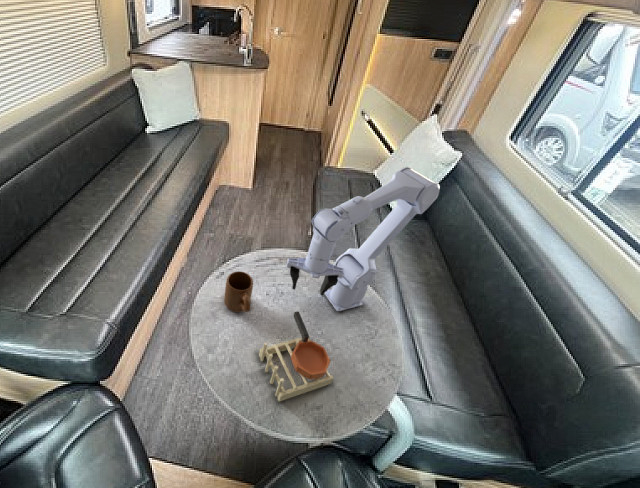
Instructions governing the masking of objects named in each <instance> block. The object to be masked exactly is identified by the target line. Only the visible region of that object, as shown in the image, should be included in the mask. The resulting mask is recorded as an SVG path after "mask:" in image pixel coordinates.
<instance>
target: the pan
mask: <svg viewBox="0 0 640 488" xmlns="http://www.w3.org/2000/svg"><path fill="white" fill-rule="evenodd" d="M300 313H301V312H300V311H293V317H292V318H293V319H294V321H295V324H296V326H297V329H298V331H299V333H300V336H301V337H302V339H301V340H302V342H299V343H298V344H297V345H296V347H295V348H293V350H292V356H290V360H291V362H292V366H293V368H294V371H296V373H298V374H299V375H300V374H301V375H302V376H304V377H305V378H306V380H316V379H317V378H319V379H321V378H324V377H325V376H326V374H325V373H326V371H328V369H329V366H330V363H331V358H330V356H329V354H328V352H327V350H326V348H325V347H324V346H322V345H321V344H319V343H318V342H315V341H314V340H310V339H309V337H310V335H309V332H308V330H307V327H306V325H305V323H304V320H303V318H302V316H301V314H300ZM308 339H309V341H308ZM301 375H300V376H301Z"/></svg>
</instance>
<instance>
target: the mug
mask: <svg viewBox="0 0 640 488" xmlns="http://www.w3.org/2000/svg"><path fill="white" fill-rule="evenodd" d="M253 287H254V279H253V277H252V276H251V275H250V274H249V273H247V272H244V271H232V272H231V273H230V274H228V276H227V278H226V282H225V289H224V297H223V298H224V299H223V300H224V306H225V307H226V308H227V309H228V310H229V311H231V312H233V313H242V312H244V313H249V312H250V311H251V307H252V305H251V299H252V293H253Z"/></svg>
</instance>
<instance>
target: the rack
mask: <svg viewBox="0 0 640 488" xmlns="http://www.w3.org/2000/svg"><path fill="white" fill-rule="evenodd" d="M301 339H302V336H301V337H297V338H294V339H291V340H290V339H289V340H287V341H283V342H279V343H275V344H272V345H269V346H268V343H267V342H264V344H263V345H262V347H261V348H260V349H259V353H258V356H259V359H260V362H264V359H265V358H266V360H267V361H266V364H265V368H264V372H265V373H268V372H269V370H270V369H271V371H272V374H271V377H270V380H269V384H270V385H274V382H275V380H276V382H277V384H278V385H277V388H276V391H275V394H274V395H275V397H277V402H279V403H281V402H282V401H285V400H288V399H291V398H294V397H297V396H299V395H300V396H301V395H304V394H305V393H308V392H311V391H314V390H317V389H320V388H323V387H326V386H329V385H331V384H332V382H333V380H334V377H333V374H331V375H330V373H329V371H328V370H327V371H326V373H325V376H324V377H322V378H317V379H314V380H313V381H310V382H308V379H307V378H306V377H304V376H302V375H301V374H299V376H300V377H301V379H302V381H303V384H301V385H298V386H297V384H296V383H295V380H294V378H293V376H292V373H291V372H290V369H289V367H288V366H287V364H286V361H285V359H284V357H283V355H282V352H285V351H288V353H289V356H290V357H291V356H292V353H293V350H292V349H295V347H296V345H297V344H298V343H299V342H302V340H301ZM310 339H311V337H310V336H309V339H308V341H309V340H310ZM274 354H277V356H278V358H279V361H280V363H281V365H282V367H283V369H284V371H285V373H286V375H287V377H288V379H289V382H290V383H291V386H292V388H289V389H285V387H284V385H283V384H284V382H285V379H284V378H283V377H281V378H280V376H279V374H278V371H279V366H278V365H275V364H274V363H273V361H272V359H273V355H274Z"/></svg>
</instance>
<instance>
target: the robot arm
mask: <svg viewBox="0 0 640 488" xmlns="http://www.w3.org/2000/svg"><path fill="white" fill-rule="evenodd" d="M440 187H441V186H440V184H439V183H438V182H434V181H433V180H432V179H430V178H428V177H426V176H425V175H422V174H421V173H419V172H418V171H416V170H414V169H413V168H412V167H410V166H404V167H402V168H400V169H398V170H397V171H395V172H394V173H393V174H392V176H391V178H390V180H389V181H388V182H387V183H385V184H383V185H382V186H380V187H379V188H377V189H376V190H374V191H372V192H371V193H368V195H366V196H365V197H363V196H361V195H357V196H354V197H353V198H351V199H349V200H346V201H345V202H342V203H341V204H339V205H337V206H335V207H332V208H327V207H326V208H321V209H320V210H318V211H317V212H316V213H315V215H314V216H313V217H312V218H311V225H312V226H313V228H312V232H313V234H312V238H311V241H310V244H309V247H308V250H307V253H306V257H288V258H287V261H286V269H289V276H290V279H291V281H292V288H291V289H292V290H296V288H297V283H298V280H299V278H300V273H301V272H300V271H303V272H304V273H307V274H308V275H310V276H311V278H313V279H318V280H319V279H320V277H324V278H323V281H322V283H321V286H320V294H319V295H320V296H325V297H326V298H327V299H328V301H329V302H330V304H331V306H332V307H333V308H334V310H335V311H336V312H341V311H345V310H350V309H353V308H357V307H361V306H363V299H364V297H365V295H366V293H367V291H368V288H369V287H368V286H369V285H370V283H371V282H372V280H373V278H374V276H375V275H376V274H377V273H378V270H377V267H376V266H377V265H376V259H377V258H378V257H379V256H380V255H381V253H382V252H384V250H385V249H386V248H387V247H388V245H390V244H391V242H392V241H393V240H394V239H395V238H396V237H397V236H398V235H399V234H400V232H401V231H402V230H403V229H404V228H405V227H406V226H407V225H408V224H409V223H410V222H411V220H412V219H413V218H414V217H415V216H416V215H422V214H423V213H424V212H425V211H427V210H428V209H429V207H430V206H431V205H432V204H433V203H434V202H435V201H436V200H437V199H438V197H439V194H440V189H441V188H440ZM395 201H396V206H395V207H394V208H393V209H392V210H391V211H390V212H389V213H388V214H387V216H386V217H385V218H384V219H383V221H382V222H381V223H380V224H378V226H377V227H376V228H375V230H374V231H373V232H372V233H371V234H370V235H369V236H368V237H367V238H366V239H365V241H363V243H362V244H361V245H360V246H359V248H355V247H354V248H348V249H347V250H346V251H345V252H344V253H342V254H341V255H338V257H337V258H336V260H335V262H334V264H332V263H330V261H331V258H332V256H333V253H334V251H335V248H336V244H337V242H338V241H339V240H340V239H342V238H343V237H345V235H346V233H348V232H349V231H350V230H351V227H353V226H355V225H357V224H359V223H361V222H362V221H364V220H366V219H368V218H370V217H371V215H372V212H373V210H377V209H379V208H381V207H383V206H385V205H388V204H390V203H392V202H395Z"/></svg>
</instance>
